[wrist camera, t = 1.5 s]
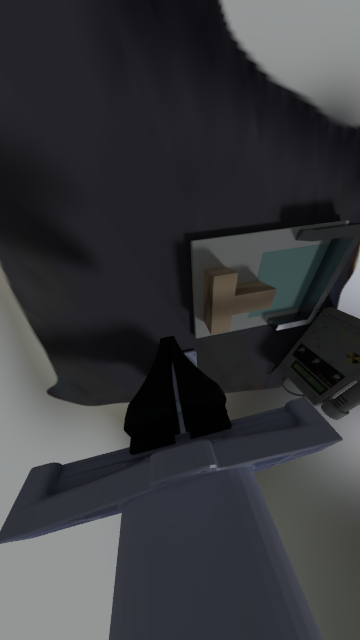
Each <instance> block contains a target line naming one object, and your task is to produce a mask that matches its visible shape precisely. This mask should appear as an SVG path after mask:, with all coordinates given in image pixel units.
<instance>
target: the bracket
mask: <svg viewBox="0 0 360 640" xmlns="http://www.w3.org/2000/svg"><path fill="white" fill-rule="evenodd" d="M327 239H331V242H330V244H329V246H328V248H327V250H326V253H325V255H324V257H323V259H322V261H321V263H320V265H319V267H318V269H317V271H316V273H315V276H314V278H313V280H312V282H311V284H310V286H309V288H308V290H307V292H306V294H305V296H304V299H303V301H302V303H301V305H300V307H299V309H298V311H297V313H292V314H287V315H282V316H277V317H272V318H269V319H268V321H267V324H269V325H270V326H271V327H272V328H274V329H275V330H281V329H286V328H291V327H296V326H301V325H306V324H311V323H312V321H313V319H314V318H315V316H316V314H317V312H318V311H319V309H320V307H321V306H322V304H323V302H324V300H325V299H326V297H327V295H328V293H329V292H330V290H331V288H332V287H333V285H334V283H335V281H336V280H337V278H338V276H339V275H340V273H341V271H342V269H343V268H344V266H345V264H346V263H347V261H348V259H349V257H350V256H351V254H352V252H353V251H354V249H355V247H356V245H357V244H358V242H359V240H360V223H346V224H339V225H331V226H324V227H316V228H309V229H301V230H299V231H298V234H297V237H296V240H298V241H312V242H313V241H320V240H327Z"/></svg>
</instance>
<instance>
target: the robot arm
mask: <svg viewBox="0 0 360 640" xmlns="http://www.w3.org/2000/svg"><path fill="white" fill-rule="evenodd" d="M225 404H226V396H225V394H224V393H223V391H222V389H221V388H220V386H219V385H218V384H217V383H216V382H214V381H213V380H212V379H210V378H209V377H208V376H206V375H205V374H204V373H203V372H202V371H200V370H199V369H198V368H197V360H196V351H195V350H193V351H188V352H183V351H182V350H181V348H180V347H179V345H178V343H177V341H176V339H175V337H174V336H170V337H165V338H161V339H160V344H159V348H158V352H157V355H156V358H155V361H154V363H153V366H152V368H151V370H150V372H149V374H148V376H147V378H146V380H145V381H144V383H143V385H142V386H141V388H140V389H139V391H138V392H137V394H136V395H135V397H134V398H133V399H132V401H131V402H130V403H129V405H128V408H127V412H126V416H125V423H124V431H125V432H126V433H127V434H128V435H129V436H130V437H131V442H130V447H129V448H125V449H121V450H117V451H114V452H110V453H106V454H102V455H98V456H95V457H91V458H87V459H83V460H79V461H76V462H72V463H68V464H64V465H62V464H59V463H49V464H45V465H42V466H38V467H34V468H32V469H31V471H30V473H29V475H28V477H27V479H26V481H25V483H24V485H23V487H22V489H21V491H20V493H19V495H18V497H17V499H16V501H15V503H14V505H13V507H12V509H11V511H10V513H9V515H8V517H7V519H6V521H5V523H4V525H3V527H2V529H1V531H0V544H1V543H7V542H13V541H19V540H24V539H30V538H34V537H38V536H41V535H45V534H48V533H51V532H55V531H58V530H62V529H65V528H69V527H72V526H76V525H79V524H83V523H86V522H90V521H94V520H97V519H101V518H105V517H108V516H112V515H115V514H119V513H122V517H121V528H120V538H119V547H118V557H117V566H116V576H115V586H114V596H113V606H112V615H111V625H110V634H109V640H323V638H322V636H321V634H320V631H319V629H318V627H317V624H316V622H315V619H314V617H313V615H312V612H311V610H310V607H309V605H308V603H307V600H306V598H305V596H304V593H303V591H302V588H301V586H300V584H299V581H298V579H297V576H296V574H295V572H294V570H293V567H292V564H291V562H290V560H289V557H288V555H287V553H286V550H285V548H284V545H283V543H282V541H281V538H280V536H279V533H278V531H277V529H276V526H275V524H274V522H273V519H272V517H271V514H270V512H269V510H268V507H267V505H266V502H265V500H264V498H263V495H262V493H261V491H260V488H259V486H258V483H257V481H256V479H255V476H254V474H253V473H254V472H257V471H260V470H263V469H266V468H269V467H272V466H275V465H277V464H280V463H284V462H287V461H289V460H292V459H296V458H299V457H302V456H305V455H308V454H311V453H314V452H318V451H321V450H323V449H325V448H327V447H329V446H331V445H333V444H335V443H337V442H340V441H342V440H343V439H342V437H341V436H340V435H339V434H338V433H337V432H336V431H335V429H334V428H333V427H332V426H331V425H330V424H329V423H328V422H327V421H326V420H325V419H324V417H323V416H321V414H320V413H319V412H318V411H317V410H316V409H315V408H314V407H313V405H311V403H310V402H309V401H308V400H307V399H306V398H304V397H303V398H299V399H295V400H291V401H289V402H288V403H287V404H286V405H285V406H284V407H281V408H277V409H273V410H269V411H265V412H262V413H258V414H254V415H250V416H246V417H243V418H239V419H235V420H231V421H230V420H229V417H228V415H227V410H226V407H225ZM147 458H148V459H147ZM145 459H146V460H145Z"/></svg>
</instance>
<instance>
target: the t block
mask: <svg viewBox="0 0 360 640" xmlns="http://www.w3.org/2000/svg"><path fill="white" fill-rule="evenodd" d="M237 278H238V272H236V271H234V270H232V269H230V268H228V267H226V266H222V267H216V268H209V269H204V323H205V325H206V327H207V329H208V330H209V332H210V334H211V335H213V334H218V333H223V332H228V331H230V324H231V318H232V315H236V314H241V313H247V312H252V311H257V310H263V309H268V308H271V305H272V302H273V299H274V296H275V293H276V290H277V289H276V288H274V287H272V286H270V285H268V284H266V283H264V282H261V281H255V282H249V283H243V284H237ZM236 284H237V285H236Z"/></svg>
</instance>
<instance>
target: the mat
mask: <svg viewBox="0 0 360 640" xmlns="http://www.w3.org/2000/svg"><path fill="white" fill-rule="evenodd" d="M346 223H349V221H337V222H329V223H321V224H314V225H306V226H299V227H291V228H283V229H276V230H268V231H260V232H253V233H245V234H238V235H230V236H222V237H215V238H207V239H200V240H192V241H190V243H191V265H192V286H193V308H194V330H195V337H196V338H200V337H205V336H210V335H211V334H210V332H209V330H208V329H207V327H206V325H205V323H204V269H209V268H216V267H222V266H226V267H228V268H230V269H232V270H234V271H236V272H238V278H237V284H243V283H249V282H255V281H261V282H264V283H266V284H268V285H270V286H272V287H274V288H276V289H277V290H276V293H275V296H274V299H273V302H272V305H271V308H268V309H263V310H257V311H252V312H247V313H241V314H236V315H232V318H231V324H230V331H235V330H240V329H245V328H251V327H256V326H261V325H266V324H267V321H268V319H269V318H272V317H277V316H282V315H287V314H292V313H297V311H298V309H299V307H300V305H301V303H302V301H303V299H304V296H305V294H306V292H307V290H308V288H309V286H310V284H311V282H312V280H313V278H314V276H315V273H316V271H317V269H318V267H319V265H320V263H321V261H322V259H323V257H324V255H325V253H326V250H327V248H328V246H329V244H330V242H331V239H327V240H320V241H313V242H312V241H298V240H296V237H297V234H298V231H299V230H301V229H309V228H316V227H324V226H331V225H339V224H346ZM237 284H236V285H237ZM230 331H228V332H230ZM223 333H225V332H223ZM218 334H220V333H218ZM213 335H215V334H213Z"/></svg>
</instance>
